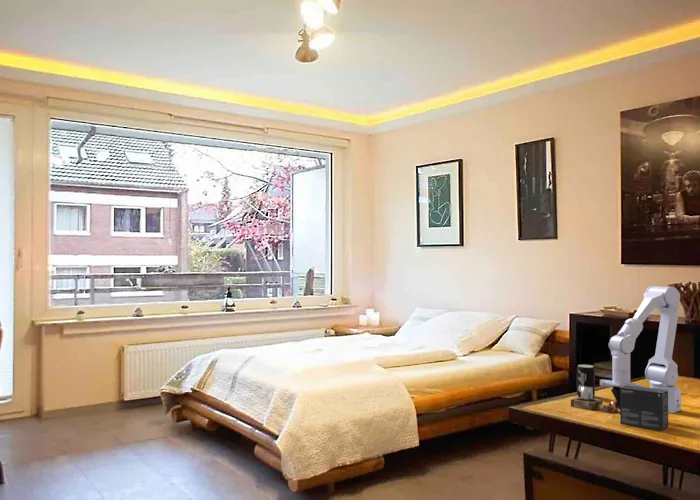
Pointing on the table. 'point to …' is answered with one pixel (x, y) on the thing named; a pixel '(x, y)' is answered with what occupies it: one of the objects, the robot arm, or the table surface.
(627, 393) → the small box
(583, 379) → the beverage can
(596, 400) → the dock mount
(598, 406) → the lock pin
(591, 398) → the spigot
